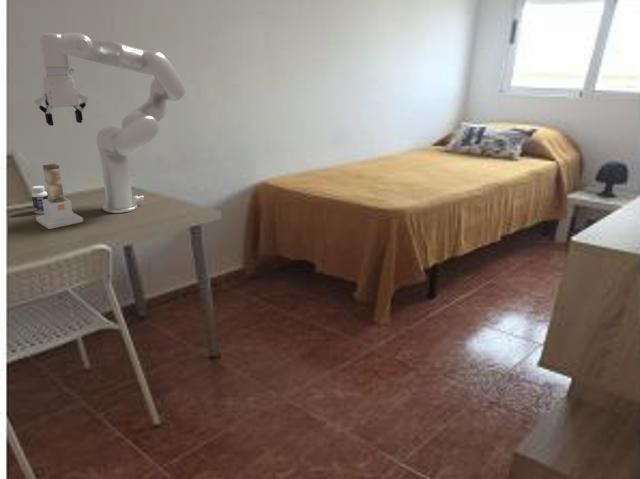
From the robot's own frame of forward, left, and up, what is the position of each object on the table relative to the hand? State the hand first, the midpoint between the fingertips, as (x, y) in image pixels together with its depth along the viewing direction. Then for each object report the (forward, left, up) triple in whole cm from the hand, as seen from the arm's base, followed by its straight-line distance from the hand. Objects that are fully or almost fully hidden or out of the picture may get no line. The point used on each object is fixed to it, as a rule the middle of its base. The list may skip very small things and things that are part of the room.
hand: (65, 123), depth 186 cm
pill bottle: (+7, -16, -34) cm, 39 cm away
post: (+7, 0, -28) cm, 29 cm away
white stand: (+7, 0, -34) cm, 35 cm away
